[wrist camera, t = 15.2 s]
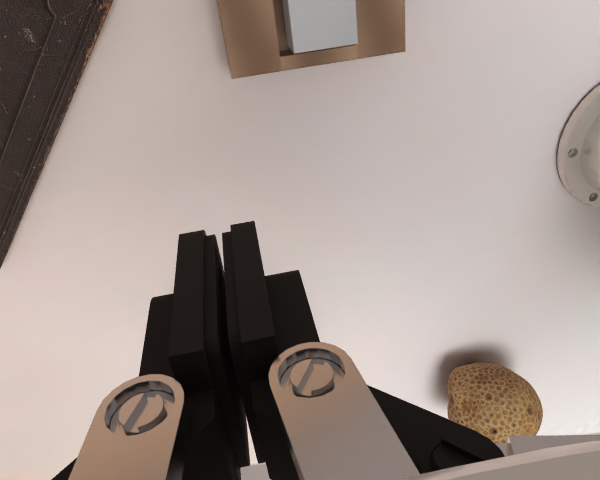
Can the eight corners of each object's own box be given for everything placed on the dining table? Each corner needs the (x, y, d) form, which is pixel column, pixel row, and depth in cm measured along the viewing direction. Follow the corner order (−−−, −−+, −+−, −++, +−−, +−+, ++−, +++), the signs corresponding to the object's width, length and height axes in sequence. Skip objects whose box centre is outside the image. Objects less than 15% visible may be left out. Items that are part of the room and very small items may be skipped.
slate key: (341, -31, 32) (353, -29, 30) (346, 36, 34) (357, 43, 32) (279, -22, 32) (285, -19, 29) (287, 45, 34) (294, 53, 31)
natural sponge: (492, 401, 60) (539, 476, 51) (421, 402, 58) (458, 480, 50) (518, 340, 56) (575, 411, 47) (443, 340, 54) (488, 413, 45)
